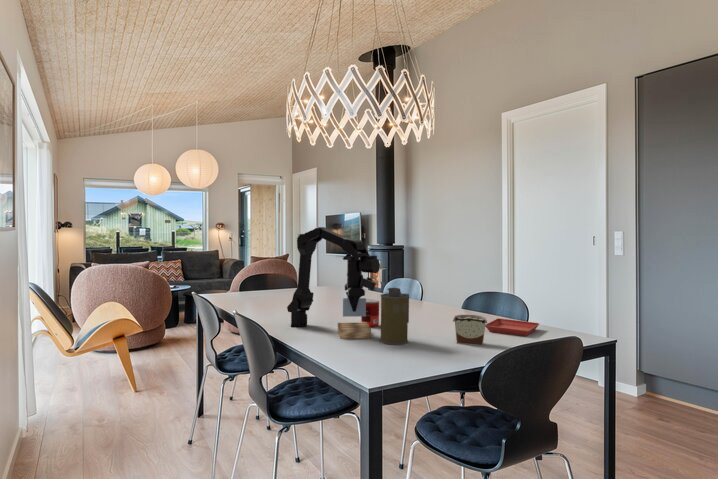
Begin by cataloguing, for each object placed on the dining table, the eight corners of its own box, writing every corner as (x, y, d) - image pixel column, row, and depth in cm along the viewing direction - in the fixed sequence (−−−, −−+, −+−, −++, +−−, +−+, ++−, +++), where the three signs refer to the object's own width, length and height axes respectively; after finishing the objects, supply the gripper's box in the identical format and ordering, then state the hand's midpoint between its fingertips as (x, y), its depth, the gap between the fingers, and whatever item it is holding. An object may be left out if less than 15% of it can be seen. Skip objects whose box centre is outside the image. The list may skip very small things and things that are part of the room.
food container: (488, 342, 177) (488, 315, 177) (487, 346, 171) (487, 318, 171) (454, 339, 181) (455, 313, 181) (452, 343, 175) (453, 316, 175)
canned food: (379, 324, 210) (379, 299, 209) (378, 327, 202) (378, 301, 201) (362, 323, 210) (362, 298, 210) (360, 327, 202) (360, 301, 202)
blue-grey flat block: (342, 316, 185) (343, 298, 185) (342, 315, 187) (342, 298, 187) (365, 316, 186) (365, 298, 186) (365, 315, 188) (365, 298, 188)
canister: (388, 346, 170) (389, 290, 169) (375, 339, 179) (375, 287, 179) (414, 343, 174) (415, 289, 174) (400, 337, 184) (400, 286, 183)
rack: (340, 338, 180) (340, 328, 180) (337, 331, 192) (337, 322, 192) (371, 338, 182) (371, 328, 182) (366, 331, 194) (367, 322, 194)
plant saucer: (528, 338, 185) (528, 330, 185) (483, 332, 195) (483, 324, 195) (539, 330, 200) (540, 323, 200) (497, 325, 210) (497, 318, 210)
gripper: (378, 274, 178) (377, 315, 179) (371, 269, 197) (370, 307, 197) (349, 273, 177) (348, 315, 177) (344, 269, 195) (344, 307, 196)
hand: (354, 311), depth 187 cm, fingers closed on blue-grey flat block, 2 cm apart
